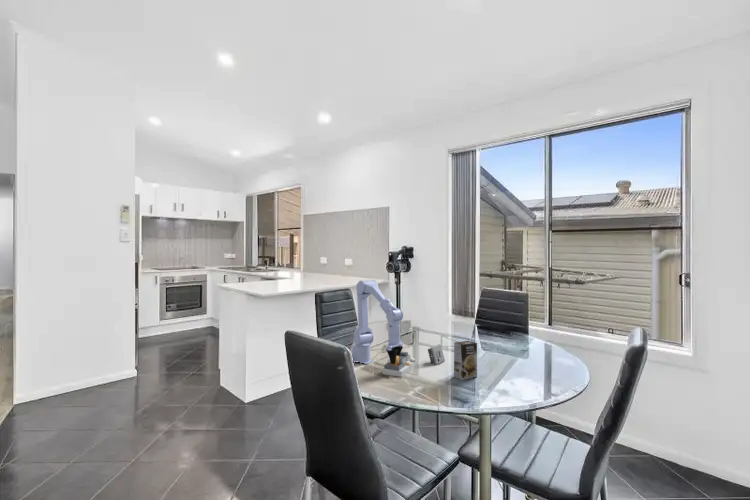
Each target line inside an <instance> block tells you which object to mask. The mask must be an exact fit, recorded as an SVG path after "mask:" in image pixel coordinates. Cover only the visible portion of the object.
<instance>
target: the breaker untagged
mask: <svg viewBox="0 0 750 500" xmlns="http://www.w3.org/2000/svg"><path fill="white" fill-rule="evenodd" d="M408 355H409V352H408V351H401V353H400V356H404V357H407V356H408Z"/></svg>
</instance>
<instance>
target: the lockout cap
mask: <svg viewBox="0 0 750 500" xmlns="http://www.w3.org/2000/svg"><path fill="white" fill-rule="evenodd" d="M391 365H393V366H399V356H398V355H396V362H395V364H391Z"/></svg>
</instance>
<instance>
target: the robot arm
mask: <svg viewBox="0 0 750 500" xmlns="http://www.w3.org/2000/svg"><path fill="white" fill-rule="evenodd" d="M370 295H372V296H373V297H374V298H375V299H376V300H377V301H378V302H379V307H380V308H381V310H382V311H383V312H384V314H385V318H386V320H387V324H388V325H387V326H388V343H387V346H386V350H385V351H386V352H387V355H388V358H389V362H391V364H395V362H396V355H398V356H399V357H400V353H401V352H402V350H403V348H404V346H403V345H404V344H403V341H402V339H401V321H402V320H403V318H404V313H403V311H402V309H401V308H398V307H396V306H395V305H394V304H393V303H392V301H391V299H390V298H386V297H385V295H384V294H383V293H382V291H381V289H380V288H379V284H378V282H377V281H376V280H375V279H372V280H371V279H370V280H359V281H358V282H357V283H356V297H357V299H356V302H357V303H356V304H357V322H358V327H357V328H356V329H355V330H354V332H353V333H354V334H353V339H352V340H353V343H354V344H353V345H352V349H351V358H352V357H353V362H352V363H355V362H356V361H358V362H360V363H359V364H362V363H364V365H368V364H369V363H372V362H373V361H374V359H372V358H371V345H372V343H373V342H374V335H373V329H371V327H370V326H369V316H368V315H369V314H368V313H369V310H368V297H369V296H370ZM354 361H355V362H354Z"/></svg>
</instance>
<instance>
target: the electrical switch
mask: <svg viewBox="0 0 750 500" xmlns="http://www.w3.org/2000/svg"><path fill="white" fill-rule="evenodd" d="M442 348H443V347H442V345H441V344H437V345H433V346H431V347H430V348H427V353H428V358H429V360H430V364H431V365H435V366H437V365H440V364H442V363H444V362H445V361H446V359H445V355H444V352H443V349H442Z"/></svg>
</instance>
